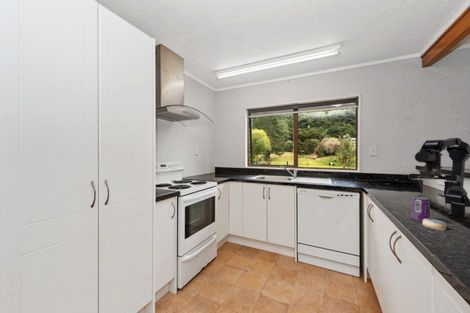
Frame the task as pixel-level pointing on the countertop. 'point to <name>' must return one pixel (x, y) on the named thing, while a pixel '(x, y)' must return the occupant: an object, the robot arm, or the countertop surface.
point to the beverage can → (420, 208)
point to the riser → (434, 224)
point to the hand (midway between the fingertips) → (432, 194)
